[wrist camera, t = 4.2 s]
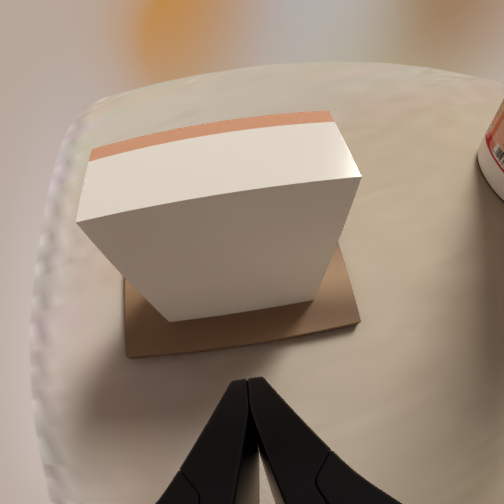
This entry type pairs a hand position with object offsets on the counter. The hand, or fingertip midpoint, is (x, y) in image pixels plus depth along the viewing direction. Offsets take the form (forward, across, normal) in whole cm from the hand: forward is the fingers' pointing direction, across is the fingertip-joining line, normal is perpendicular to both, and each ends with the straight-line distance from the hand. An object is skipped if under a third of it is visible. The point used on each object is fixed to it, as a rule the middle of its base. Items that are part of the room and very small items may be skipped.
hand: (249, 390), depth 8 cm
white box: (+10, 0, +1) cm, 10 cm away
